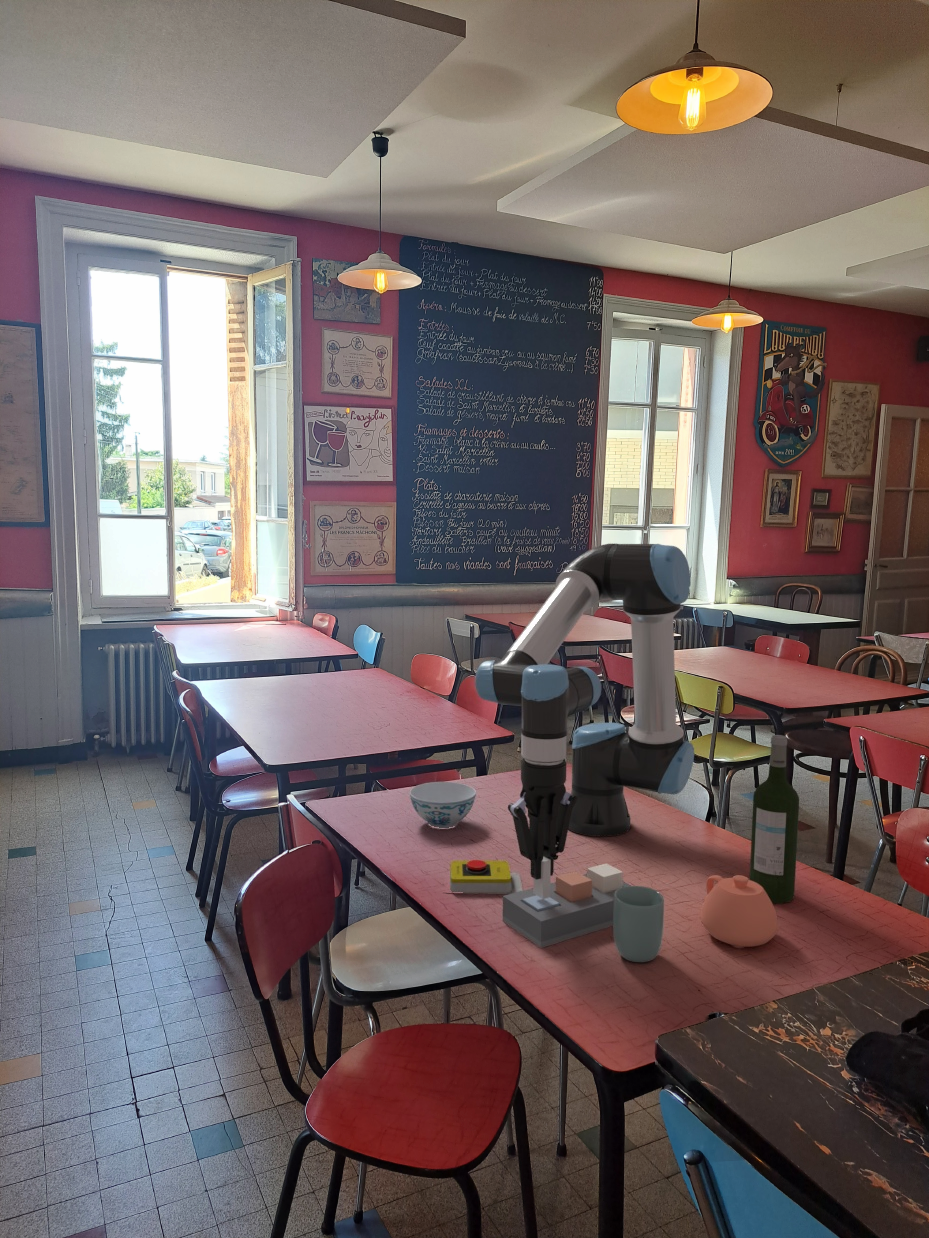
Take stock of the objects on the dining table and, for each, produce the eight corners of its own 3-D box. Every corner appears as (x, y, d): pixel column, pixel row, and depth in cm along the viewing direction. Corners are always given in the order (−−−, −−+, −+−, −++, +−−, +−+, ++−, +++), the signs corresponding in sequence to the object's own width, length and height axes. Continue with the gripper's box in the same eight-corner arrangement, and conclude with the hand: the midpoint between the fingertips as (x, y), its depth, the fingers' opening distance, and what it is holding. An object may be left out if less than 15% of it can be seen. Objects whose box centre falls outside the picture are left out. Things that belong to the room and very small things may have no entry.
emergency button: (442, 854, 167) (519, 854, 168) (442, 875, 168) (519, 875, 168) (442, 873, 158) (523, 873, 158) (442, 896, 159) (523, 896, 159)
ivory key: (605, 881, 155) (606, 863, 155) (622, 890, 151) (622, 871, 151) (586, 887, 153) (587, 868, 152) (603, 896, 149) (603, 877, 149)
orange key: (575, 890, 151) (575, 871, 151) (591, 899, 148) (592, 880, 147) (555, 895, 149) (555, 876, 149) (571, 905, 145) (571, 885, 145)
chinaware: (487, 821, 197) (488, 788, 196) (452, 841, 185) (452, 806, 184) (434, 809, 205) (434, 777, 204) (396, 827, 193) (396, 794, 192)
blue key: (543, 912, 148) (543, 893, 148) (558, 922, 144) (559, 903, 144) (522, 918, 146) (522, 898, 145) (537, 929, 142) (538, 908, 142)
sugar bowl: (738, 961, 135) (741, 898, 134) (677, 924, 147) (679, 866, 146) (793, 944, 141) (796, 884, 140) (730, 909, 153) (733, 854, 152)
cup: (606, 944, 140) (608, 886, 139) (653, 943, 140) (655, 884, 139) (619, 969, 132) (621, 907, 131) (668, 967, 133) (671, 905, 132)
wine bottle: (793, 889, 162) (801, 733, 158) (794, 906, 154) (803, 743, 151) (749, 883, 164) (756, 729, 161) (748, 900, 157) (756, 739, 154)
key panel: (600, 893, 159) (601, 869, 159) (642, 916, 150) (643, 891, 149) (502, 920, 148) (502, 895, 147) (540, 947, 138) (541, 921, 138)
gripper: (560, 748, 149) (558, 878, 151) (498, 759, 142) (497, 895, 145) (588, 758, 142) (586, 894, 145) (524, 770, 135) (523, 912, 138)
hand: (541, 894), depth 145 cm, fingers closed
